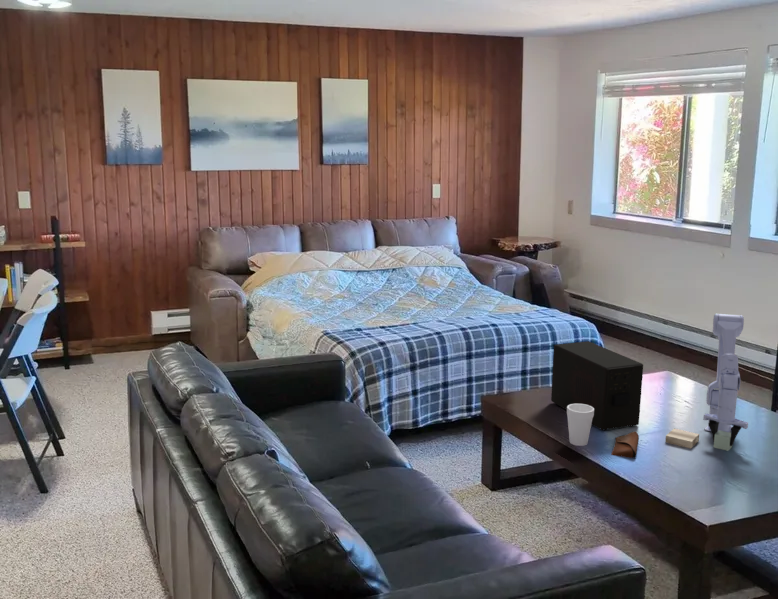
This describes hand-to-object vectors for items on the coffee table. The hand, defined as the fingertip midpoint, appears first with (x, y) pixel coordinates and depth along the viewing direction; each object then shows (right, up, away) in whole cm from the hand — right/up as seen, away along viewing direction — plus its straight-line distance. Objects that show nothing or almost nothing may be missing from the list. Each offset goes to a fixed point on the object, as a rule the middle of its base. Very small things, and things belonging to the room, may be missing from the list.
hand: (723, 443), depth 281 cm
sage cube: (0, -1, 0) cm, 2 cm away
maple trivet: (-13, -1, +5) cm, 14 cm away
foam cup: (-50, -1, +4) cm, 51 cm away
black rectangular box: (-36, +5, +31) cm, 48 cm away
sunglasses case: (-35, -2, -1) cm, 35 cm away
